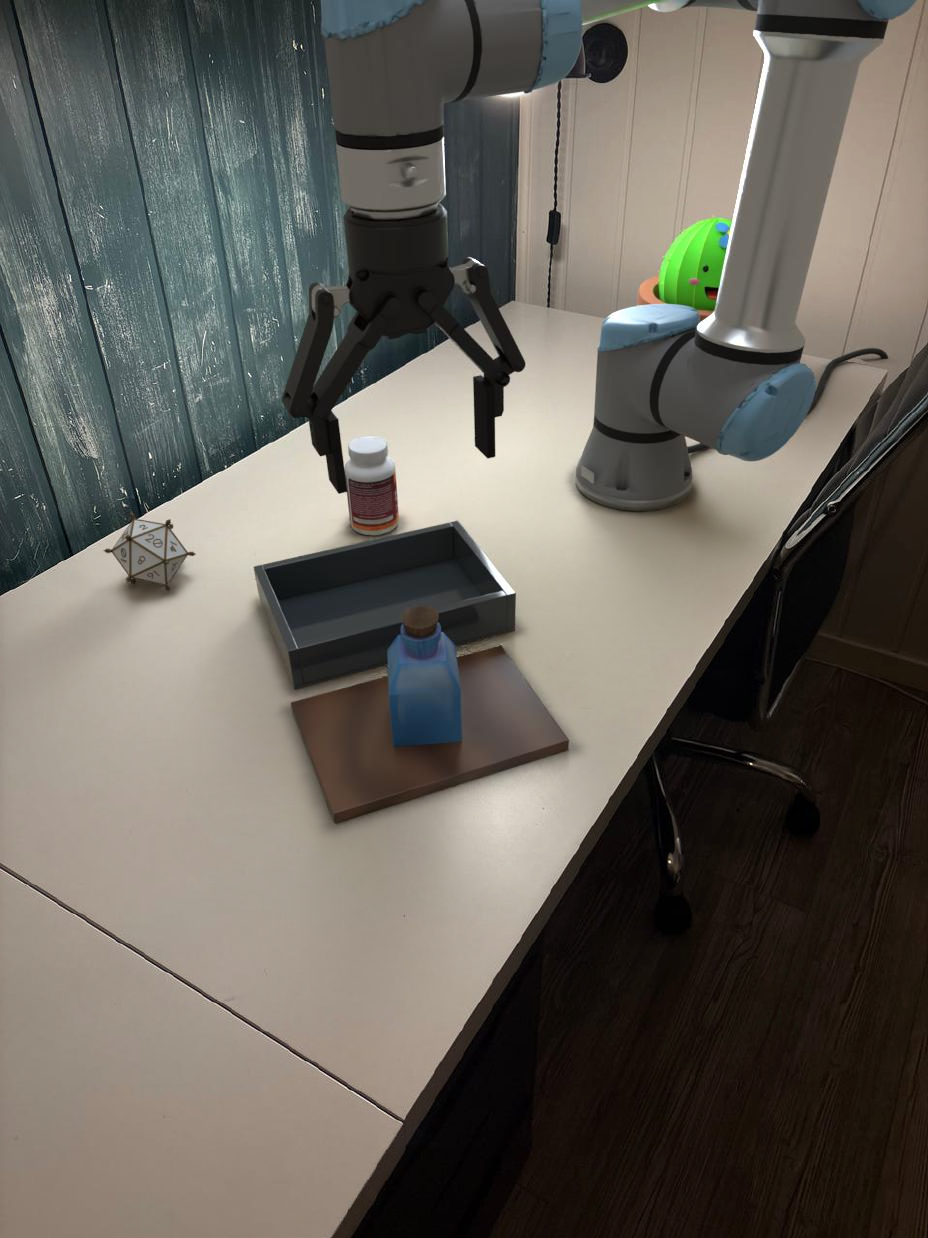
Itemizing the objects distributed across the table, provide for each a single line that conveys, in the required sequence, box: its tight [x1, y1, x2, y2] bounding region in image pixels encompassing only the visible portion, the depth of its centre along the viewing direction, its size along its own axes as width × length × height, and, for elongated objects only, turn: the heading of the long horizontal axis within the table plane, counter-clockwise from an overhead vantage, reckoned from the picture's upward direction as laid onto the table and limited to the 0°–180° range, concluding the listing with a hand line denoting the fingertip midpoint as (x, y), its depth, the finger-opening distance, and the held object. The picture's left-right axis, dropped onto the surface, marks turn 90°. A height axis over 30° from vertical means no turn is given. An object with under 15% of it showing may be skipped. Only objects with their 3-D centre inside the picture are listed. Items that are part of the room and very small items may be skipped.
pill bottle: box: [344, 435, 400, 536], centre depth 112 cm, size 6×6×11 cm
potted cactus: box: [636, 213, 733, 322], centre depth 145 cm, size 22×22×25 cm
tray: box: [253, 520, 517, 690], centre depth 99 cm, size 24×16×5 cm, turn 112°
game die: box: [102, 511, 197, 593], centre depth 104 cm, size 9×8×10 cm
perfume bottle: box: [387, 606, 462, 747], centre depth 81 cm, size 6×6×12 cm
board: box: [290, 644, 570, 824], centre depth 85 cm, size 22×15×1 cm
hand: (413, 468), depth 79 cm, fingers open, 13 cm apart
